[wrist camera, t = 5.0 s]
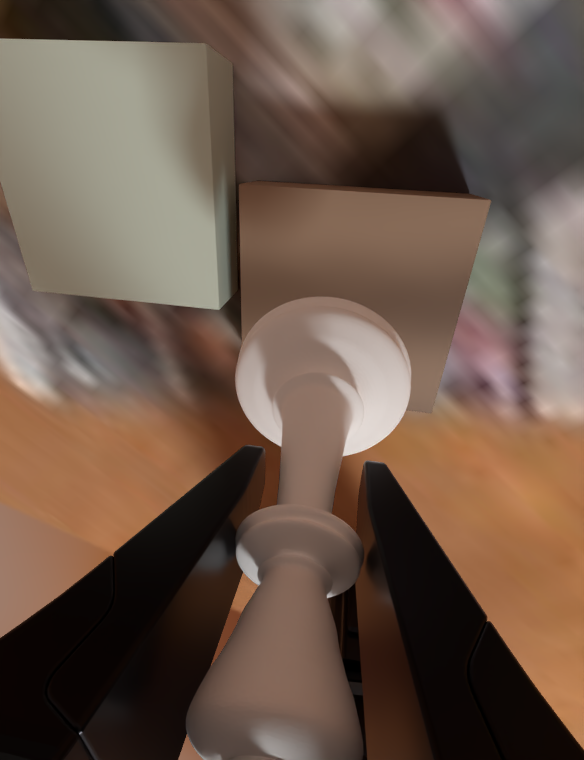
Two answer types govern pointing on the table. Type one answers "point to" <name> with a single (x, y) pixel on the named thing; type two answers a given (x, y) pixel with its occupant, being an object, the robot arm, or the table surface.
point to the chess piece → (300, 533)
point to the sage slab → (121, 168)
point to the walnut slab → (364, 260)
